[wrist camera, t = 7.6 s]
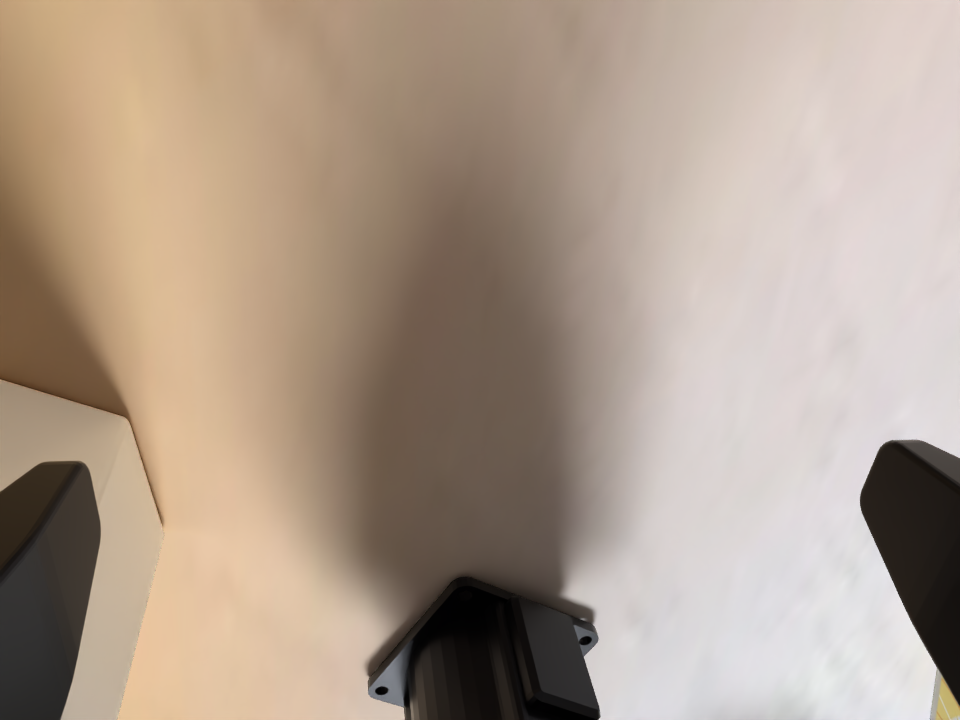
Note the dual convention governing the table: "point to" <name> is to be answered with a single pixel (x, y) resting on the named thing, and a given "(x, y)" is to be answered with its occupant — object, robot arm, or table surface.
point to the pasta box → (943, 702)
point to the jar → (124, 530)
